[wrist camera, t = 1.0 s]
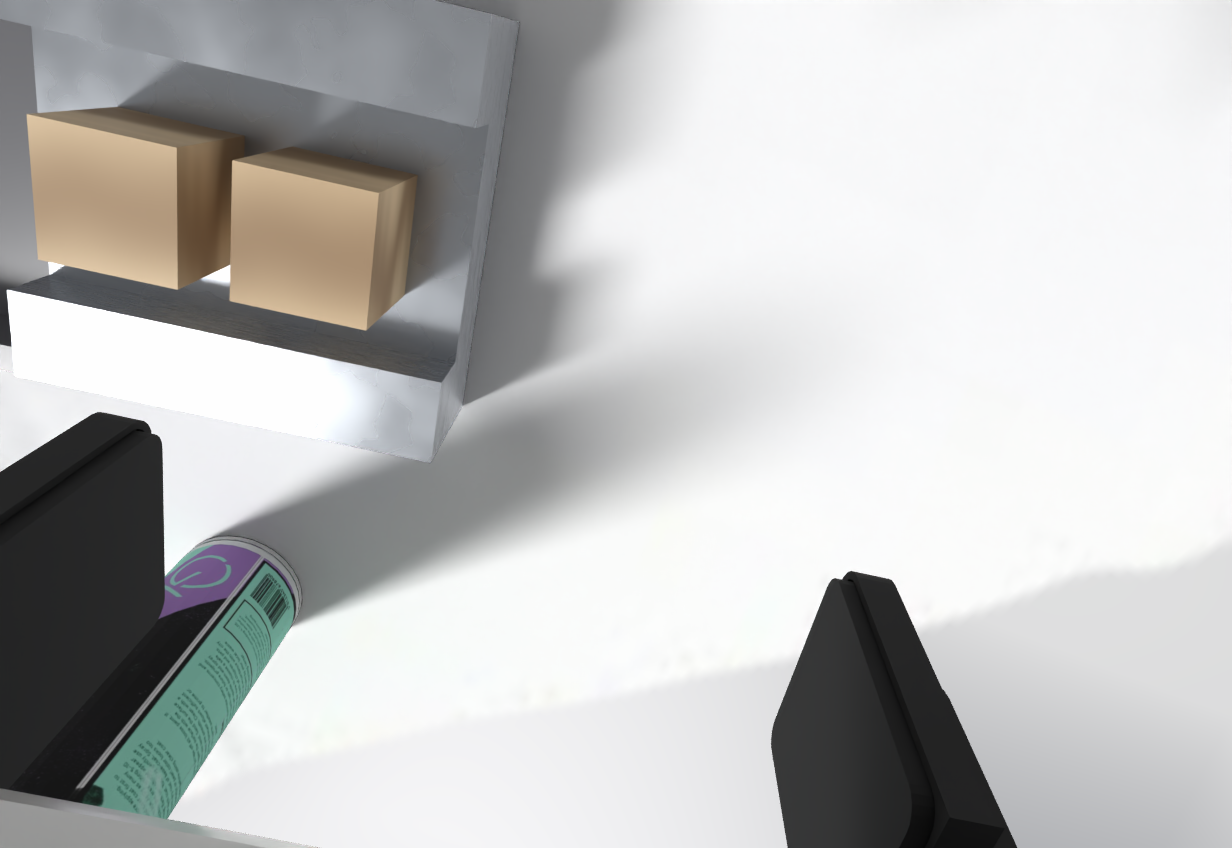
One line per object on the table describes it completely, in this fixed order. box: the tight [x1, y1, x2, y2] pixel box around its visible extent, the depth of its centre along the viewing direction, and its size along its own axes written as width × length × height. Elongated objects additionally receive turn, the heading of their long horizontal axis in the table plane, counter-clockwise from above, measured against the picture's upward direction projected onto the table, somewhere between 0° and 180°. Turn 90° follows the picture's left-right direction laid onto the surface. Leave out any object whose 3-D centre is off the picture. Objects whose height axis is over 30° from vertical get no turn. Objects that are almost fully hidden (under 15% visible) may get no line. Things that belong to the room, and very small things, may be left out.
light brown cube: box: [230, 146, 418, 330], centre depth 25 cm, size 4×4×4 cm
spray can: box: [8, 536, 302, 819], centre depth 27 cm, size 6×6×20 cm
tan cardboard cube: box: [27, 107, 245, 290], centre depth 24 cm, size 4×4×4 cm
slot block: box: [0, 0, 520, 463], centre depth 27 cm, size 14×14×5 cm
